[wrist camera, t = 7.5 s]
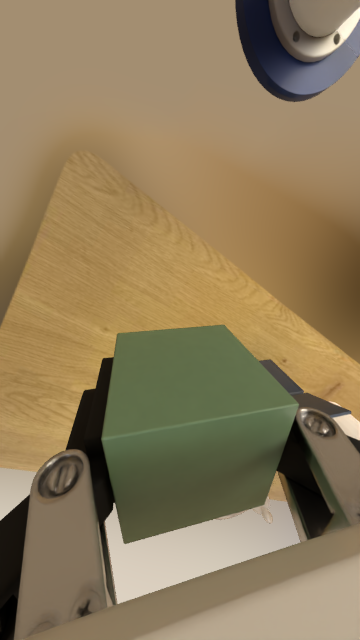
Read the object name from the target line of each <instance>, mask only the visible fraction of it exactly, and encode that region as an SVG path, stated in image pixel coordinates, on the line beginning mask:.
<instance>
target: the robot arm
mask: <svg viewBox="0 0 360 640" xmlns="http://www.w3.org/2000/svg"><path fill="white" fill-rule="evenodd" d="M268 1H269V9H270V14H271V19H272V23H273V26H274V29H275V32H276V35H277V37H278V38H279V40H280V42H281V44H282V46H283V47H284V48H285V49H286V51H287V52H288V53H289V54H290V55H292V56H293V57H294V58H296V59H298V60H300V61H303V62H316V61H319V60H322V59H324V58H326V57H327V56H329V55H330V54H332V53H333V52H334V51H335V50H336V49H337V48H339V47H340V46H341V45H342V44H343V42H344V41H345V40H346V39H347V38H348V37H349V35H350V34H351V33H352V31H353V30H354V28H355V27H356V25H357V23H358V21H359V19H360V0H268ZM113 359H114V357H112V358H103V360H102V364H101V368H100V372H99V376H98V381H97V385H96V389H90V390H85V391H84V392H83V395H82V398H81V401H80V405H79V408H78V411H77V414H76V418H75V421H74V424H73V427H72V431H71V434H70V437H69V441H68V444H67V447H66V450H65V451H62V452H60V453H58V454H56V455H54V456H53V457H52V458H50V459H49V460H48V461H47V462H45V463H44V465H43V466H42V467H41V468H40V469H39V470H38V472H37V474H36V476H35V477H34V479H33V483H32V486H31V491H30V495H29V496H27V497H26V498H25V499H24V500H23V501H22V502H21V503H20V504H19V505H17V506H16V507H15V508H14V509H13V510H12V511H11V512H10V513H8V515H6V516H5V517H4V518H3V519H2V520H1V521H0V640H360V440H357V439H355V438H353V437H350V436H348V435H346V434H345V433H344V432H343V430H342V429H341V428H340V426H339V425H338V424H337V422H336V421H335V420H334V419H333V418H332V417H330V416H329V415H328V414H326V413H324V412H322V411H321V410H318V409H315V408H311V407H301V408H299V409H297V412H296V415H295V418H294V421H293V424H292V427H291V430H290V432H289V435H288V438H287V441H286V444H285V447H284V450H283V453H282V455H281V458H280V461H279V464H278V467H277V470H276V471H278V475H279V478H280V481H281V484H282V487H283V490H284V493H285V496H286V499H287V502H288V505H289V508H290V511H291V514H292V517H293V520H294V523H295V526H296V529H297V532H298V536H299V539H300V542H301V543H298V544H295V545H292V546H290V547H286V548H283V549H280V550H277V551H274V552H271V553H268V554H265V555H262V556H259V557H256V558H253V559H250V560H247V561H244V562H241V563H238V564H235V565H232V566H229V567H226V568H223V569H220V570H217V571H214V572H211V573H208V574H205V575H203V576H200V577H196V578H193V579H191V580H188V581H185V582H182V583H179V584H176V585H173V586H170V587H167V588H164V589H161V590H158V591H155V592H152V593H149V594H146V595H144V596H141V597H138V598H135V599H132V600H129V601H126V602H123V603H120V604H117V598H116V592H115V585H114V579H113V572H112V565H111V560H110V552H109V546H108V539H107V533H106V526H105V520H106V518H107V517H108V516H109V514H110V513H111V512H112V510H113V503H115V500H114V495H113V491H112V486H111V481H110V477H109V472H108V467H107V463H106V458H105V454H104V449H103V444H102V440H101V438H102V432H103V425H104V418H105V412H106V405H107V399H108V392H109V385H110V379H111V372H112V366H113Z"/></svg>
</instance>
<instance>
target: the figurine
mask: <svg viewBox="0 0 360 640" xmlns="http://www.w3.org/2000/svg"><path fill="white" fill-rule="evenodd" d="M269 508H270V501H269V497H268V496H267V499H266V502H265V504H264V505H263V506H259V507H255V508H252V509H253V510H254V511H255V512H256V513H257V514H260V515H261V514H262V516H263V518H264V519H265V521H266V522H268V523H269V524H271V523H272V521H273V519H272V515H271V513H270V512H269Z"/></svg>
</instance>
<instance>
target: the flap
mask: <svg viewBox="0 0 360 640" xmlns="http://www.w3.org/2000/svg"><path fill="white" fill-rule="evenodd" d="M292 397H293V398H294V399H295V400H296V401H297V402H298V404H299V407H298V409H299V408H301V407H311V408H315V409H318V410H321V411H322V412H324V413H326V414H328V415H329V416H330V417H332V418H334V417H339V416H344V415H348V414H351V411H350V410H347V409H345V408H342V407H340V406H338V405H335V404H333V403H330V402H328V401H325V400H323V399H321V398H318V397H316V396H313V395H311V394H309V393H303V394H297V395H292Z"/></svg>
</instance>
